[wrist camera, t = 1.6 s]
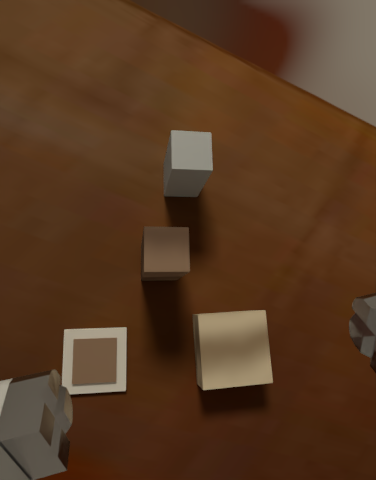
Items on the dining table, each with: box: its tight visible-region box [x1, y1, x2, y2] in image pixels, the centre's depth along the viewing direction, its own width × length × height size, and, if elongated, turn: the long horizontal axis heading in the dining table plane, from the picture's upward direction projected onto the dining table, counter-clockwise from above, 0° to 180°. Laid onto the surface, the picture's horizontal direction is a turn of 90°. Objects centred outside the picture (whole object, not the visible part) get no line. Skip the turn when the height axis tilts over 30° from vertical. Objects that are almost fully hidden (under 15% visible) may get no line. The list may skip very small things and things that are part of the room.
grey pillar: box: [164, 130, 213, 197], centre depth 42 cm, size 4×4×9 cm
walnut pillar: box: [141, 227, 190, 281], centre depth 38 cm, size 4×4×10 cm
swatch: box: [62, 327, 127, 394], centre depth 40 cm, size 7×7×1 cm
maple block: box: [193, 310, 273, 390], centre depth 41 cm, size 8×8×4 cm
